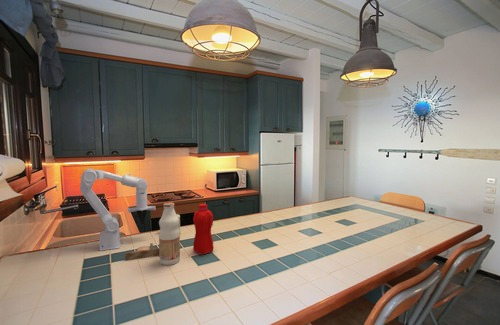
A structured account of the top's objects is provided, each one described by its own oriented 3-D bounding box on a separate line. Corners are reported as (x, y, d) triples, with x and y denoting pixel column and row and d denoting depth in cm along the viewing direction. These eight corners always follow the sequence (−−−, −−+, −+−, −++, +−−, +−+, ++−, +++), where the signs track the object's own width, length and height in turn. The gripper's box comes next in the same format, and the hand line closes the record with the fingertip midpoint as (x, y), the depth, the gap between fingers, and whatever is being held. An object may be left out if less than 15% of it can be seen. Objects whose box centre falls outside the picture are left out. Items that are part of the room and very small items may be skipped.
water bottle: (218, 249, 135) (218, 203, 133) (201, 256, 127) (201, 207, 125) (207, 245, 142) (207, 200, 140) (190, 251, 134) (190, 204, 132)
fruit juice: (160, 267, 116) (159, 206, 114) (158, 258, 124) (157, 202, 122) (181, 263, 120) (181, 204, 118) (178, 255, 129) (177, 200, 126)
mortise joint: (125, 260, 122) (125, 253, 122) (126, 253, 130) (126, 246, 130) (160, 255, 128) (160, 248, 128) (160, 248, 136) (159, 242, 136)
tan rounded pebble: (136, 257, 126) (136, 251, 125) (137, 252, 131) (137, 247, 131) (149, 255, 128) (149, 250, 128) (149, 251, 133) (149, 245, 133)
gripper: (126, 202, 138) (127, 226, 139) (155, 200, 143) (155, 223, 145) (127, 199, 145) (128, 223, 146) (155, 197, 150) (155, 220, 151)
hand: (142, 223), depth 146 cm, fingers closed
